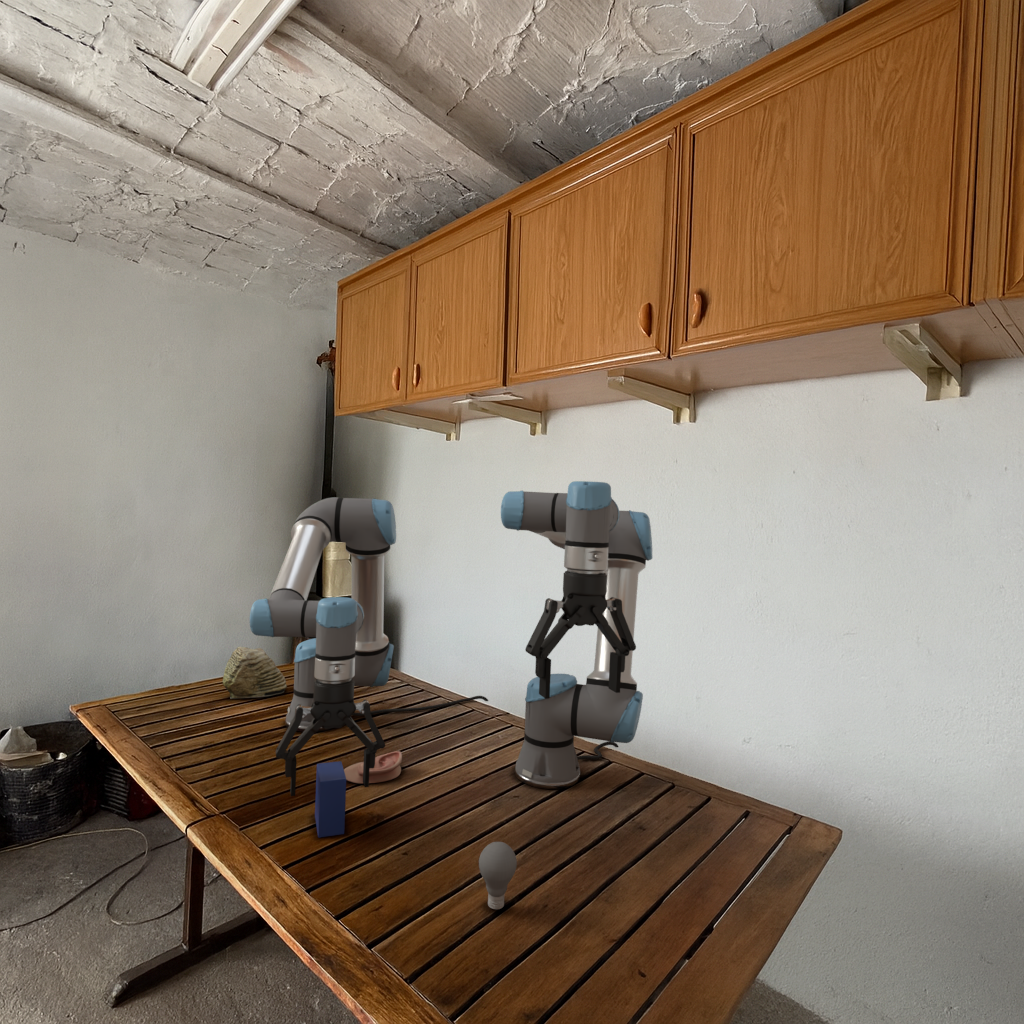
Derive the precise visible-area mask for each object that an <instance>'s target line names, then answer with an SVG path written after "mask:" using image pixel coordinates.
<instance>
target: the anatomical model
mask: <svg viewBox="0 0 1024 1024" xmlns="http://www.w3.org/2000/svg"><path fill="white" fill-rule="evenodd" d="M402 761H403V754H402V751H399V750H397V751H391V752H387V753H384V754H381V755H377V756H375V766H374V768H369V784H375V783H383V782H387V781H391V780H393V779H396V778H398V777H399V776H400V774H401V772H402V767H401V763H402ZM363 765H364V761H361V762H355V763H353V764H351V765H349V766H347V767H345V768H343V769H344V772H345V776H346V781H347V782H350V783H352V784H353V783H354V784H363Z"/></svg>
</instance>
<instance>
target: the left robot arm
mask: <svg viewBox="0 0 1024 1024" xmlns="http://www.w3.org/2000/svg"><path fill="white" fill-rule="evenodd" d="M396 524H397V523H396V515H395V510H394V506H393V504H392V502H391V501H389V500H386V499H378V498H377V499H376V498H364V497H363V498H359V497H358V498H357V497H340V496H339V497H337V496H336V497H335V496H334V497H326V498H323V499H320V500H318V501H317V502H315V503H313V504H311V505H309V506H308V507H307V508H306V509H304V510H303V511H302V512H301V513H300V514H299V515H298V517H297V518H296V519H295V521H294V523H293V524H292V527H291V531H290V538H291V542H290V544H289V547H288V549H287V551H286V555H285V557H284V559H283V562H282V564H281V566H280V569H279V572H278V574H277V577H276V579H275V582H274V584H273V587H272V590H271V592H270V594H269V597H268V598H261V599H260V598H259V599H256V600H255V601H254V602H253V603H252V605H251V608H250V612H249V628H250V632H251V633H252V634H253V635H255V636H260V637H270V638H310V639H307V640H304V641H302V642H300V643H298V645H296V648H295V654H294V660H293V662H294V672H293V673H294V674H293V695H292V696H293V697H292V699H291V702H290V704H289V706H288V707H287V713H286V715H285V726H286V728H287V729H286V731H285V732H284V735H282V738H281V740H280V742H279V743H278V744H277V747H276V749H275V758H276V759H278V760H280V759H281V760H284V776H285V778H290V788H289V789H290V797H295V796H296V790H297V789H296V786H297V764H298V763H297V762H298V761H297V755H298V754H299V752H300V751H301V750H302V749H303V748H304V747H305V745H306V744H307V743H308V742H309V741H310V740H311V738H312V737H313V736H314V735H315V734H316V733H318V732H325V731H329V730H332V729H342V727H344V726H346V727H347V728H348V729H349V730H350V731H351V732H352V733H353V734H354V736H356V738H358V740H359V741H360V742H361V743H362V744H363V745H364V747H365V748H363V762H364V765H363V783H362V784H363V786H364V788H369V787H370V783H369V768H374V766H375V757H376V754H377V752H378V751H379V750H380V749H384V748H385V747H386V742H385V740H384V738H383V736H382V734H381V732H380V729H379V728H378V726H377V724H376V722H375V719H374V718H373V716H372V715H377V714H384V713H386V714H387V713H407V712H418V711H429V710H434V709H440V708H444V707H445V708H446V707H449V706H453V705H457V704H460V703H465V702H471V701H474V700H483V701H484V702H489V699H488V697H486V696H483V695H476V696H471V697H465V698H460V699H457V700H453V701H448V702H445V703H440V704H434V705H427V706H420V707H407V708H386V709H377V710H371V704H370V702H369V700H368V699H363V700H362V701H361V702H360V701H359V702H355V700H354V699H355V687H369V688H373V687H383V686H385V685H387V684H388V682H389V678H390V672H391V665H392V660H393V654H394V648H395V645H394V644H393V643H390V641H389V637H388V635H386V634H385V633H384V613H385V612H384V611H385V610H384V609H385V608H384V607H385V606H384V605H385V604H384V602H385V556H386V554H388V553H389V552H390V550H391V546H392V545H395V544H396V543H397V525H396ZM330 543H345V551H346V553H348V554H349V555H350V557H351V558H350V559H351V560H350V561H351V566H350V567H351V568H350V569H351V574H350V575H351V576H350V577H351V579H350V580H351V585H350V586H351V588H350V589H351V591H350V593H351V597H346V596H345V597H343V596H331V597H330V596H329V597H324V598H321V599H320V600H308V597H309V594H310V591H311V587H312V584H313V581H314V578H315V576H316V573H317V569H318V566H319V563H320V560H321V557H322V554H323V550H324V549H326V548H327V547H328V545H329V544H330ZM356 710H357V711H358V712H356ZM352 716H353V717H364V718H365V720H366V722H367V724H368V727H369V729H370V730H371V732H372V735H373V737H374V739H375V741H372V740H371V739H370V737H369V736H368V735H367V734H366V733H365V732H364V730H362V728H360V726H359V725H358V724H357V722H355V720H354V719H353V718H352ZM297 732H301V734H300V735H299V736H298V737H297V738H296V740H295V741H294V742H293V743H292V744H291V745H290V743H291V742H292V739H293V738H294V736H295V734H296V733H297Z"/></svg>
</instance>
